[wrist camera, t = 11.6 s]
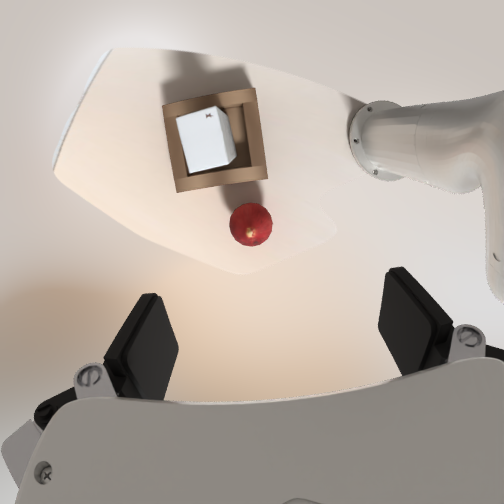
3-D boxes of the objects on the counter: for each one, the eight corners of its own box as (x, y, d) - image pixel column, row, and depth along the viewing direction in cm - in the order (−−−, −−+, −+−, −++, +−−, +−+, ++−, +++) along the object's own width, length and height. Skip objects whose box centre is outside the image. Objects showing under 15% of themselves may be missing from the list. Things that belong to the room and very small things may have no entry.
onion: (274, 230, 41) (279, 251, 34) (237, 239, 42) (234, 261, 34) (265, 193, 39) (268, 206, 31) (227, 203, 39) (220, 218, 32)
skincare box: (198, 123, 34) (174, 116, 23) (228, 115, 33) (217, 103, 22) (208, 164, 36) (188, 174, 25) (238, 157, 36) (230, 163, 25)
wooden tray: (255, 94, 33) (255, 87, 29) (266, 174, 38) (268, 178, 33) (172, 109, 34) (162, 105, 30) (184, 187, 38) (176, 192, 34)
